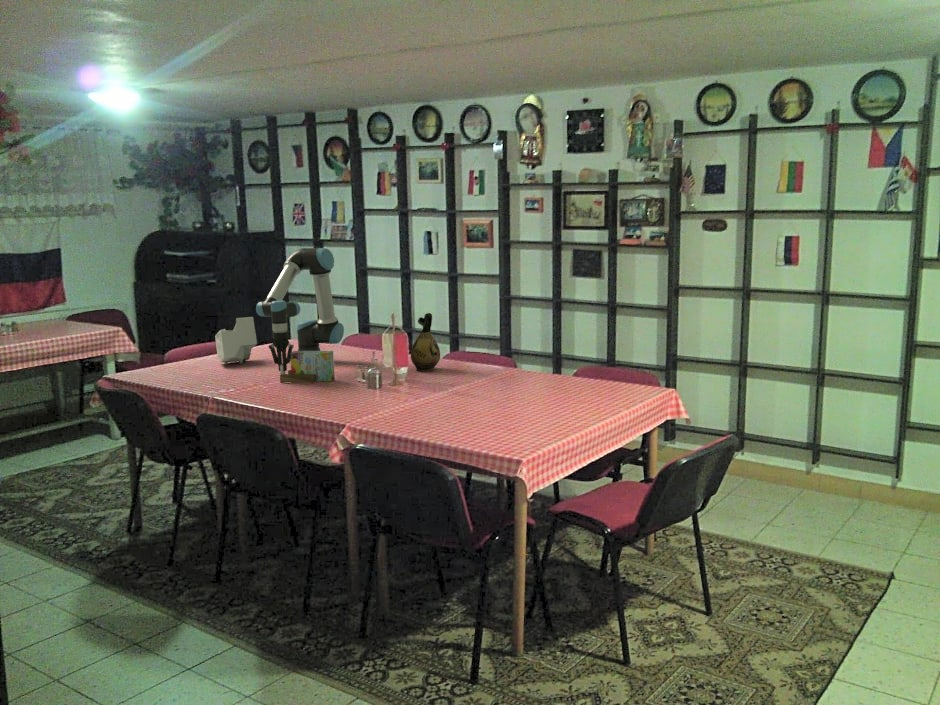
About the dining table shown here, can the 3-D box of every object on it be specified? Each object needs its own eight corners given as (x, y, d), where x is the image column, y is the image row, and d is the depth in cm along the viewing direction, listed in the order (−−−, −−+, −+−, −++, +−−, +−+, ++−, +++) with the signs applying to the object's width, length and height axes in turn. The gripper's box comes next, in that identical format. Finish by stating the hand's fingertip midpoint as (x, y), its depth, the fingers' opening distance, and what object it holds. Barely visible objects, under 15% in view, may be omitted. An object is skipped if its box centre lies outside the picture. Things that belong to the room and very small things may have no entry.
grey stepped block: (222, 363, 462) (216, 319, 465) (217, 369, 476) (211, 326, 479) (259, 360, 471) (253, 316, 474) (253, 365, 485) (246, 323, 488)
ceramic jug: (433, 373, 433) (431, 316, 428) (406, 372, 439) (404, 315, 433) (446, 367, 448) (444, 311, 443) (420, 365, 454) (418, 310, 449)
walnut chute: (290, 377, 434) (289, 369, 433) (323, 377, 431) (323, 370, 430) (280, 382, 421) (279, 375, 421) (314, 383, 418) (314, 375, 417)
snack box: (335, 379, 425) (333, 350, 423) (331, 381, 420) (330, 352, 417) (295, 379, 429) (293, 350, 426) (291, 381, 423) (289, 352, 421)
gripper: (264, 332, 421) (268, 378, 425) (289, 332, 418) (292, 379, 422) (271, 330, 428) (274, 375, 432) (295, 330, 426) (298, 375, 430)
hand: (283, 377), depth 427 cm, fingers closed
